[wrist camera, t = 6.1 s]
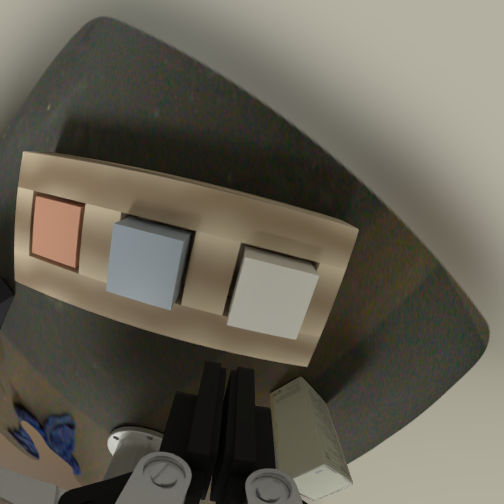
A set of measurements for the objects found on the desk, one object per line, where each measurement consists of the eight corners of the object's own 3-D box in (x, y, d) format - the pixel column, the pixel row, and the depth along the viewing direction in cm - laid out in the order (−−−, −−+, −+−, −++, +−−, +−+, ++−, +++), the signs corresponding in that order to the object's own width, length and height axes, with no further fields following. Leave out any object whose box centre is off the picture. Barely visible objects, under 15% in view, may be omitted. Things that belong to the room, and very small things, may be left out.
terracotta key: (91, 257, 24) (75, 267, 21) (50, 244, 24) (32, 252, 21) (98, 203, 23) (80, 207, 20) (55, 192, 22) (36, 196, 20)
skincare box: (268, 392, 30) (275, 483, 18) (302, 373, 30) (324, 463, 18) (297, 421, 32) (312, 503, 20) (329, 403, 31) (354, 485, 19)
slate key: (179, 293, 23) (170, 310, 20) (121, 277, 22) (106, 290, 20) (192, 232, 22) (183, 241, 19) (130, 216, 21) (113, 223, 18)
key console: (298, 337, 28) (307, 367, 24) (42, 265, 26) (14, 280, 21) (339, 219, 25) (359, 229, 21) (54, 152, 23) (23, 151, 19)
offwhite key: (290, 320, 23) (295, 339, 21) (229, 306, 23) (226, 324, 20) (310, 262, 22) (319, 275, 19) (245, 245, 22) (245, 256, 19)
